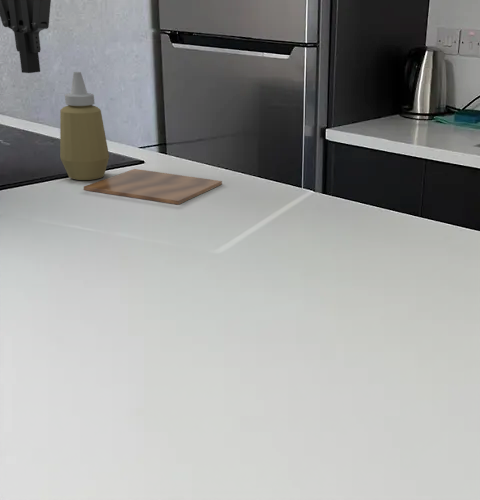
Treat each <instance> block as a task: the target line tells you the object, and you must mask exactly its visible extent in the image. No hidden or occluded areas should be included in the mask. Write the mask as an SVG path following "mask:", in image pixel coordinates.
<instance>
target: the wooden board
mask: <svg viewBox="0 0 480 500" xmlns="http://www.w3.org/2000/svg"><path fill="white" fill-rule="evenodd" d="M221 185H223V180H219V179H218V180H217V179H210V178H205V177H204V178H203V177H195V176H189V175H181V174H175V173H167V172H161V171H160V172H159V171H153V170H146V169H139V168H132V169H130V170H127V171H124V172H122V173H119V174H115V175H113V176H110V177H108V178H105V179H102V180H99V181H96V182H93V183H90V184H87V185H84V186H83V191H88V192H95V193H101V194H108V195H113V196H121V197H127V198H134V199H140V200H146V201H153V202H159V203H166V204H173V205H180V204H181V205H182V204H183V203H185V202H187V201H189V200H191V199H194V198H195V197H198V196H200V195H202V194H205V193H206V192H209V191H210V190H213V189H215V188H217V187H219V186H221Z"/></svg>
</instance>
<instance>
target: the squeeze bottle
mask: <svg viewBox="0 0 480 500" xmlns="http://www.w3.org/2000/svg"><path fill="white" fill-rule="evenodd" d="M64 102H65V105H66V106H63V107H62V108H61V109H60V115H59V121H60V122H59V123H60V125H59V128H60V131H59V133H60V134H59V135H60V136H59V137H60V138H59V143H60V145H59V155H60V156H59V158H60V161H61V163H62V165H63V167H64V169H65V171H66V173H67V176H68V178H69V179H72V180H77V181H92V180H97V179H98V180H99V179H101V178H103V177H104V176H105V174H106V172H107V171H106V170H107V167H108V163H109V159H110V153H109V148H108V142H107V137H106V131H105V126H104V121H103V116H102V110H101V109H100V108H99V107H98V106H97V105H95V104H96V103H95V95H94V93H89V92H88V91H87V87H86V83H85V80H84V78H83V74H82V72H81V71H74V72H73V75H72V81H71V90H70V92H68V93H65V94H64Z"/></svg>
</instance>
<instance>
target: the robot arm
mask: <svg viewBox="0 0 480 500" xmlns="http://www.w3.org/2000/svg"><path fill="white" fill-rule="evenodd" d="M51 4H52V0H0V21H1V24H2V26H3V27H4V28H8V29H10V30H12V32H13V34H14V42H15V49H16V51H17V52H19V61H20V68H21V69H20V70H21V73H23V74H32V73H34V74H35V73H40V72H41V65H40V55H39V53H41V51H42V50H41V49H42V48H41V41H40V32H41V31H43V30H48V29H49V26H50V16H51Z"/></svg>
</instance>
